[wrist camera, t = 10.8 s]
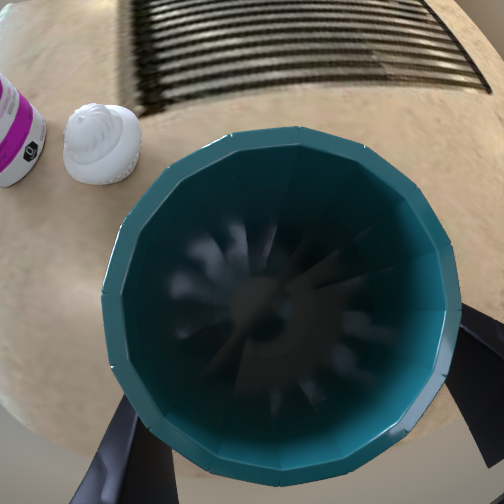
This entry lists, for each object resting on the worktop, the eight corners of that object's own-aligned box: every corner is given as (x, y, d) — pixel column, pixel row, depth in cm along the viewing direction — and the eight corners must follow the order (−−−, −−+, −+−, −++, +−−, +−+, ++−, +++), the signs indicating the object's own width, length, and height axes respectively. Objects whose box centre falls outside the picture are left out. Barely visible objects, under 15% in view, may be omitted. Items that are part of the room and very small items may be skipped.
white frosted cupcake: (165, 177, 22) (133, 127, 15) (95, 214, 22) (44, 180, 15) (142, 118, 23) (112, 64, 16) (79, 152, 23) (36, 110, 16)
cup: (344, 295, 18) (501, 265, 5) (276, 386, 17) (319, 528, 4) (254, 227, 19) (254, 76, 6) (184, 317, 18) (45, 333, 5)
